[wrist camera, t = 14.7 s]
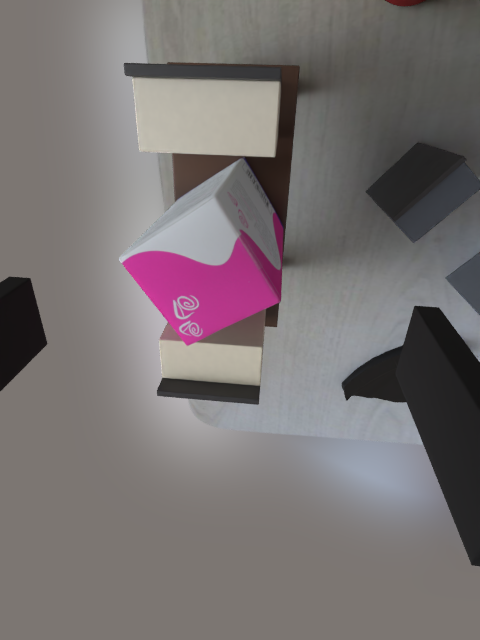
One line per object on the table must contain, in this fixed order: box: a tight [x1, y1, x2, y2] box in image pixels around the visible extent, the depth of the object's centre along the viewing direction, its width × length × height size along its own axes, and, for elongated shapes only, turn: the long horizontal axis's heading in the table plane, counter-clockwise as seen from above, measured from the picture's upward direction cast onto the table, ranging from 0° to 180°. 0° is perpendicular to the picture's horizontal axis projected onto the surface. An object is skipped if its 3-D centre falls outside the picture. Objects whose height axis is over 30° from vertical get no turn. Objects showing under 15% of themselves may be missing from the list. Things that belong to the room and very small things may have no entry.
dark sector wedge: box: [342, 346, 406, 402], centre depth 47 cm, size 8×14×2 cm, turn 102°
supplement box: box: [119, 157, 284, 346], centre depth 23 cm, size 6×6×12 cm
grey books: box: [366, 143, 480, 315], centre depth 35 cm, size 16×6×10 cm, turn 48°
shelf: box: [167, 62, 300, 327], centre depth 33 cm, size 18×8×13 cm, turn 178°
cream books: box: [124, 63, 282, 404], centre depth 23 cm, size 16×6×10 cm, turn 179°
